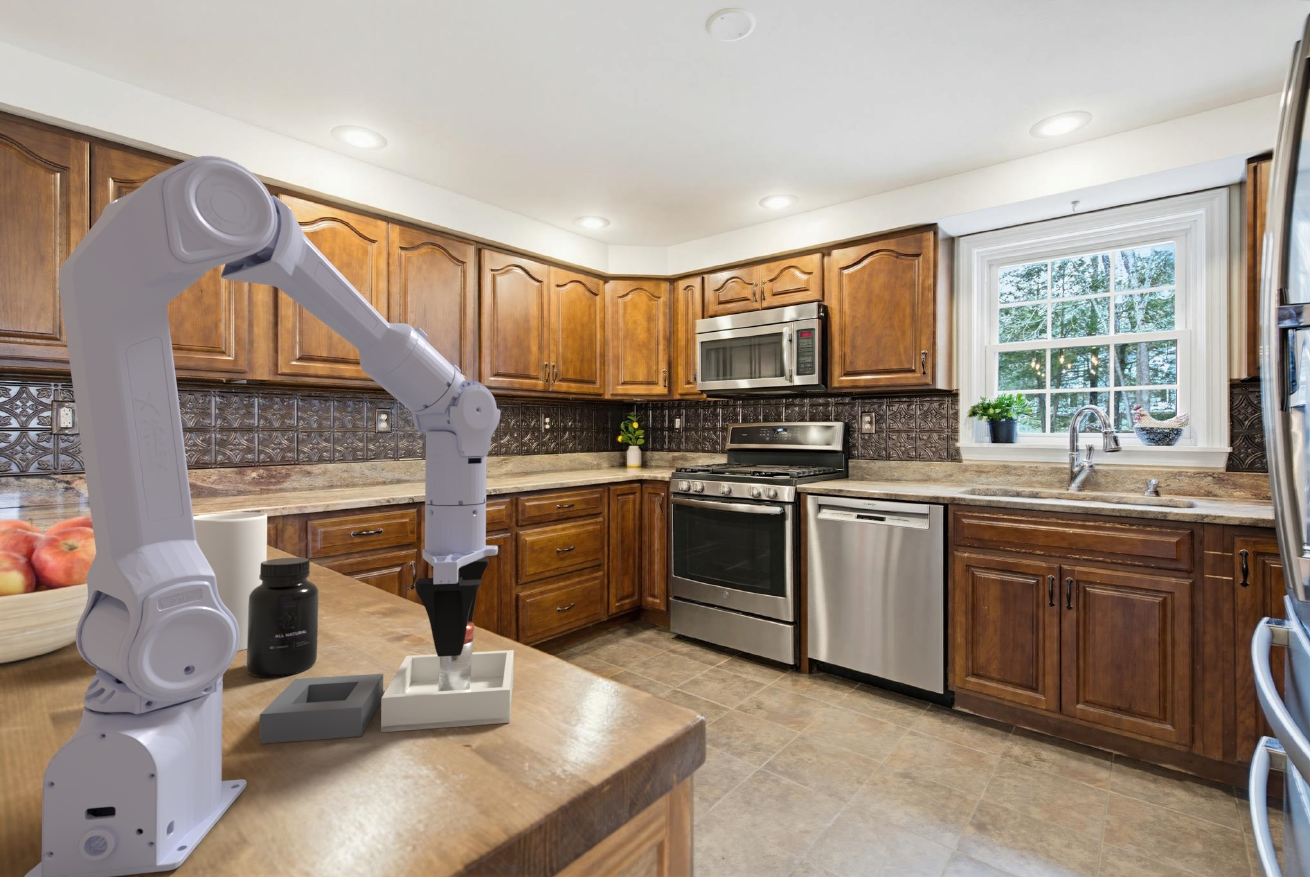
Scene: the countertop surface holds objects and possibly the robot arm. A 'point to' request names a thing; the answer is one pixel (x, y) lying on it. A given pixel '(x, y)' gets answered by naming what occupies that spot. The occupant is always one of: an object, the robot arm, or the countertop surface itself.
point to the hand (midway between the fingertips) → (454, 641)
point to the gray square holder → (322, 708)
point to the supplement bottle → (282, 619)
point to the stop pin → (457, 666)
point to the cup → (234, 558)
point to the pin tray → (448, 694)
